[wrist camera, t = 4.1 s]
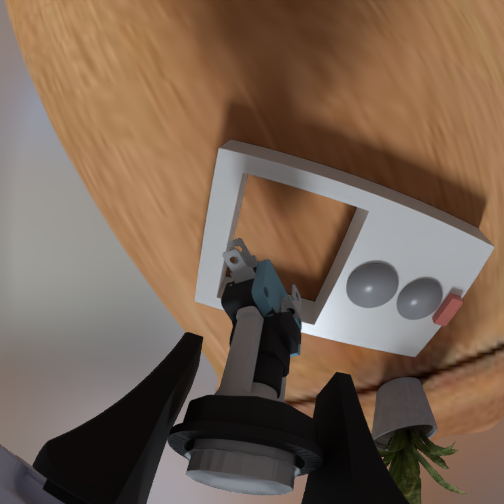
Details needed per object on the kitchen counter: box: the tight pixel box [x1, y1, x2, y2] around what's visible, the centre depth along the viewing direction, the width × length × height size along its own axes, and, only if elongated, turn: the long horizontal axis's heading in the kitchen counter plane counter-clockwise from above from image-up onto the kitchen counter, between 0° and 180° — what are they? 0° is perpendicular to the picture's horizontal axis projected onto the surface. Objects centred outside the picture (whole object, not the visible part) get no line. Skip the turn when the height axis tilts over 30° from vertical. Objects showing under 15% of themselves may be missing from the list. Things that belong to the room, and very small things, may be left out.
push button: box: [167, 238, 323, 495], centre depth 11 cm, size 7×5×10 cm
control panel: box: [195, 139, 494, 357], centre depth 18 cm, size 18×11×3 cm, turn 77°
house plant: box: [372, 377, 467, 504], centre depth 20 cm, size 14×14×16 cm
